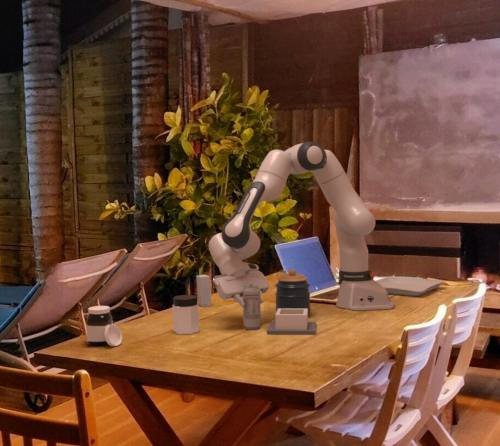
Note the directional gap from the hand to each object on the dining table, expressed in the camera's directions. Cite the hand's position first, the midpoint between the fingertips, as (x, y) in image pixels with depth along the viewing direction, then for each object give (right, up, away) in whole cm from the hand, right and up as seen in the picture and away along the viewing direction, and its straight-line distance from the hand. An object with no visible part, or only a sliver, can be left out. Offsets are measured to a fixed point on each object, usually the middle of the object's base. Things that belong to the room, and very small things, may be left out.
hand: (252, 304), depth 245 cm
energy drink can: (0, -9, +1) cm, 9 cm away
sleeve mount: (+13, -8, -2) cm, 16 cm away
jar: (-23, -9, -2) cm, 25 cm away
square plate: (+66, -2, +64) cm, 92 cm away
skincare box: (-19, -5, +42) cm, 46 cm away
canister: (+15, -7, +18) cm, 25 cm away
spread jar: (-48, -11, -16) cm, 51 cm away
